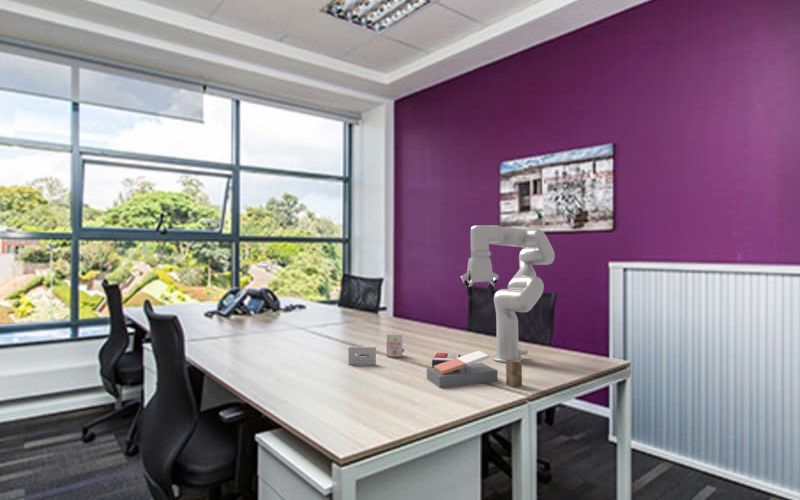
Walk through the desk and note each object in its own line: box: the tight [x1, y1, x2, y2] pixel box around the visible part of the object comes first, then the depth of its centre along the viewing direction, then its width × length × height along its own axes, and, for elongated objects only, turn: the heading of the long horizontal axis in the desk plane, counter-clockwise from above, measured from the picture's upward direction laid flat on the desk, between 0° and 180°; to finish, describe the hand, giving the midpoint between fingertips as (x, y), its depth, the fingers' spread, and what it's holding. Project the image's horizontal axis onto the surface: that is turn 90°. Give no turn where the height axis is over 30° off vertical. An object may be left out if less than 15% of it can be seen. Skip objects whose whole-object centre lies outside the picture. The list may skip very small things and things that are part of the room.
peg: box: [505, 359, 523, 388], centre depth 165 cm, size 4×4×9 cm
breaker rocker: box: [434, 350, 490, 374], centre depth 173 cm, size 20×8×2 cm, turn 109°
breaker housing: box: [426, 362, 499, 389], centre depth 173 cm, size 24×12×6 cm, turn 109°
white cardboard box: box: [386, 334, 403, 358], centre depth 211 cm, size 4×7×10 cm, turn 83°
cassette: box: [347, 346, 377, 366], centre depth 197 cm, size 12×2×8 cm, turn 87°
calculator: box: [431, 352, 461, 368], centre depth 196 cm, size 11×4×15 cm
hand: (480, 295), depth 189 cm, fingers open, 9 cm apart
